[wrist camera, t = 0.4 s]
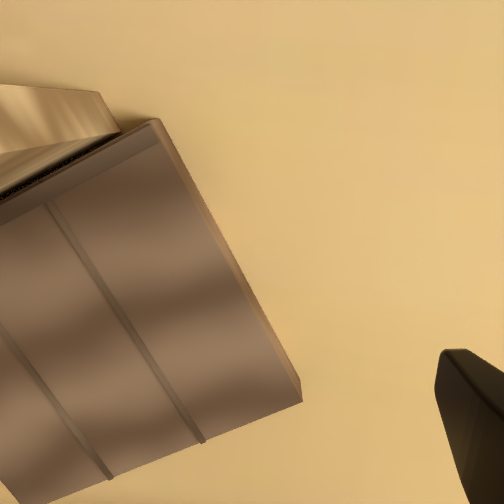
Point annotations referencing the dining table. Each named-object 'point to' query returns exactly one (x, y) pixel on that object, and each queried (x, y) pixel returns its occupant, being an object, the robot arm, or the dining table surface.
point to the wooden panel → (123, 322)
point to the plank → (47, 130)
